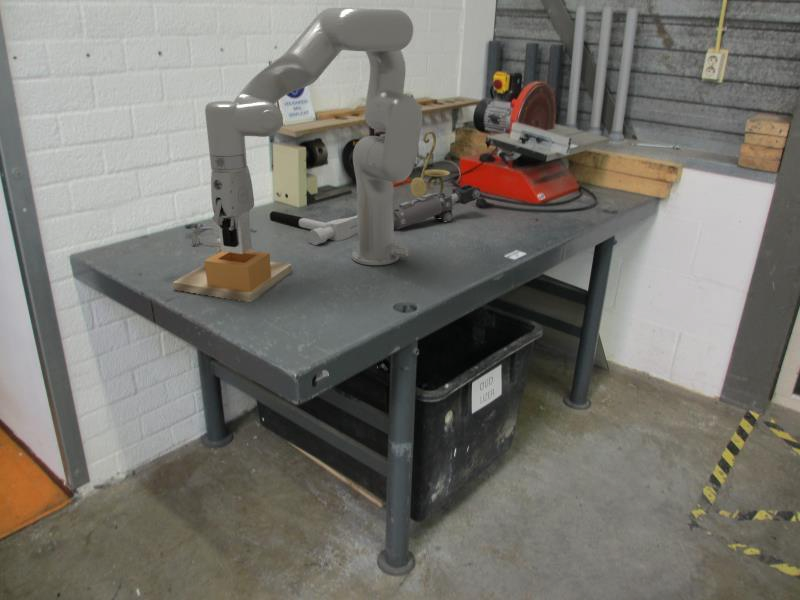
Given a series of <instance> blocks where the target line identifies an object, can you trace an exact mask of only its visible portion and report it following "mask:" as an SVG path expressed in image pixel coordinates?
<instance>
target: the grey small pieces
mask: <svg viewBox="0 0 800 600" xmlns="http://www.w3.org/2000/svg"><path fill="white" fill-rule="evenodd" d="M209 229H214V226H212V227H211V226H206V227H205V226H203V227H202V225H201V224H200V223H198V224H196V223H194V227H192V229H191V236H190V237H191V242H192V243H191V244H192V245H193V246H194V247H197V242H198V245H199V246H201V245H203V244H201V243H200V240H199V239H198V236H199V235H200V234H201V233H202V232H204V231H206V230H209ZM250 230H251V232H252V233H253V232H257V231H258V230H257V229H255V228H254V227H250ZM197 239H198V241H197Z"/></svg>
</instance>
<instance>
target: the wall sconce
mask: <svg viewBox="0 0 800 600" xmlns="http://www.w3.org/2000/svg"><path fill="white" fill-rule="evenodd" d="M430 134H431V135H432V139H433V140H432V141H433V143H432V145H431V149H430V151H429V153H428V155H427V157H426V159H425V162H424V164H423V167H422V171H421V175H420V177H414V178H413V179H411V183H410V190H411V193H412V194H413V196H414V197H415V198H421V197H422V196H424V195H426V193H427V190H428V191H429V192H431V191H434V190H435V187H434V186H437V183H438V181H437V180H439V181H440V190H439V193H442V192H444V180H443V178H442V177H447V176H449V175H450V174H451V173H450V171H448V170H445V169H427V166H428V164H429V161H430V159H431V157H432V156H433V153H434V151H435V148H436V143H437V137H436V136H437V135H436V134H435V132H434V131H433V130H428V131H426V132H425V133H424V135H423V137H422V138H423V139H422V141H423V143H425V144H428V143H429V142H430V139H429V138H427V136H428V135H430ZM425 176H426V177H427V176H428V177H430V178H429V179H428V181H427V183H426V181H424V179H425ZM433 180H434V181H433ZM432 181H433V183H432V184H433V187H431V182H432ZM426 184H427V185H426Z"/></svg>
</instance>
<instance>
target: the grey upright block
mask: <svg viewBox="0 0 800 600" xmlns="http://www.w3.org/2000/svg"><path fill="white" fill-rule="evenodd" d="M224 215H226V214H225V213H224ZM225 220H226V221H227V222H228V223H229V219H227V218H225ZM250 222H251V219H250V211H247V212H245V213H243V214H240V215H239V216H237V217H235V218H234V229H235V230H236V238H237V246H236V247H229V246H224V245H223V236H222V229H220V226H219V234H220V244H221V251H224V252H231V253H238V254H244V253H245V252H247V251H249V250H250V251H251V250H252V249H253V244H252V234H251V230H250V228H251V223H250Z"/></svg>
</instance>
